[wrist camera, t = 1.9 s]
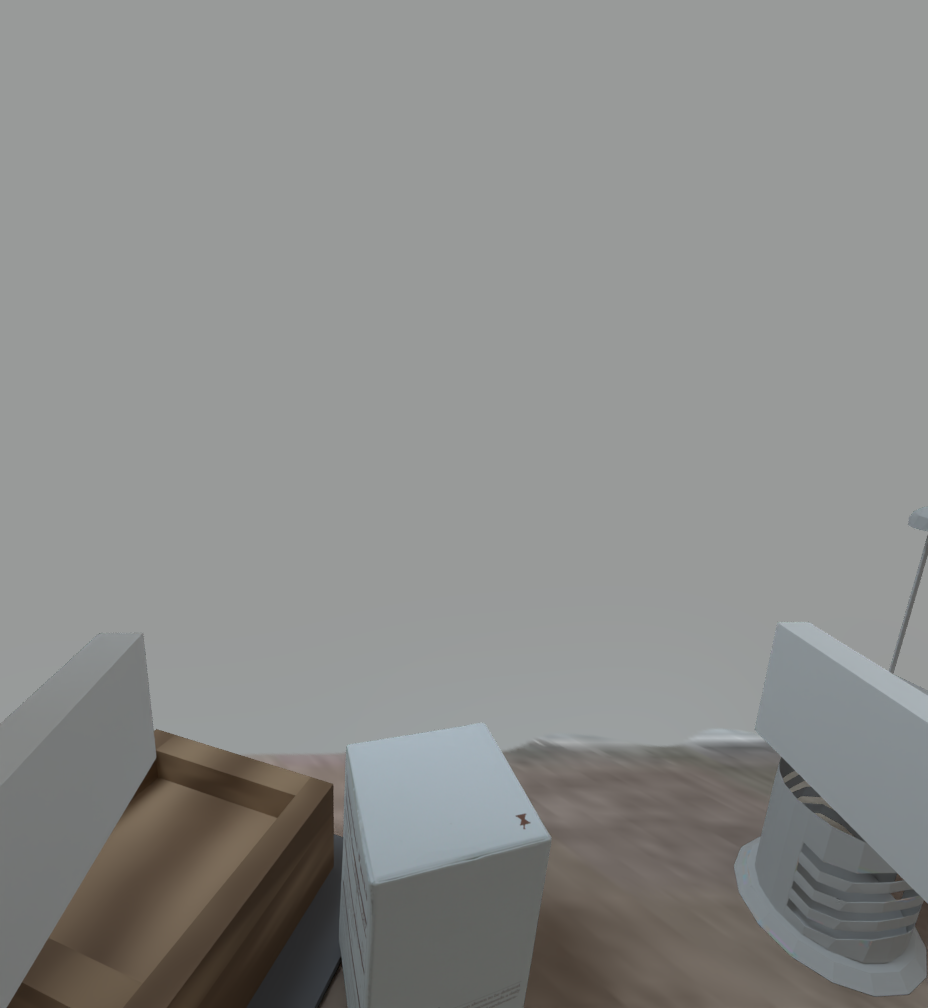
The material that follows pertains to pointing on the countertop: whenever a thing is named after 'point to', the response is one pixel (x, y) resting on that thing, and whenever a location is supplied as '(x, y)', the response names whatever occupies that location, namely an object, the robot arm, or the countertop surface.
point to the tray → (190, 887)
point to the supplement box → (438, 873)
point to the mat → (308, 950)
